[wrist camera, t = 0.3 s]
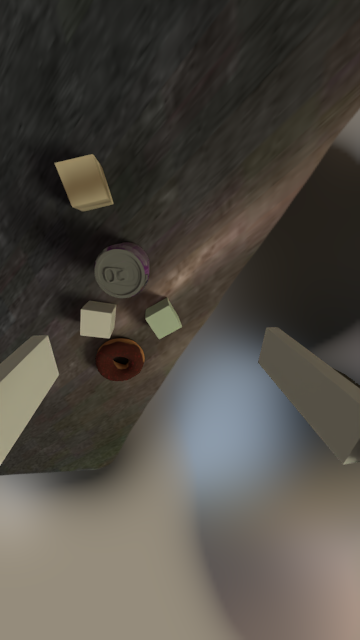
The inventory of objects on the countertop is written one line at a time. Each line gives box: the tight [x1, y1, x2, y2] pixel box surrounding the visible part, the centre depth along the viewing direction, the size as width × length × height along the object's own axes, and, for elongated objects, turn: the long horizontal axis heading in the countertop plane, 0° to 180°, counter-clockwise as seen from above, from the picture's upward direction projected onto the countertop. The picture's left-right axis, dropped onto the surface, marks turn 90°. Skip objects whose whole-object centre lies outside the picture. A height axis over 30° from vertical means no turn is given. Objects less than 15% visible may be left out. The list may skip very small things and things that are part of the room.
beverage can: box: [95, 242, 149, 298], centre depth 30 cm, size 7×7×12 cm
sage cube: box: [145, 298, 182, 339], centre depth 38 cm, size 5×5×5 cm
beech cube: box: [55, 154, 114, 211], centre depth 28 cm, size 5×5×5 cm
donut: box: [95, 338, 145, 381], centre depth 41 cm, size 10×10×4 cm
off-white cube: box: [80, 300, 116, 339], centre depth 36 cm, size 5×5×5 cm
